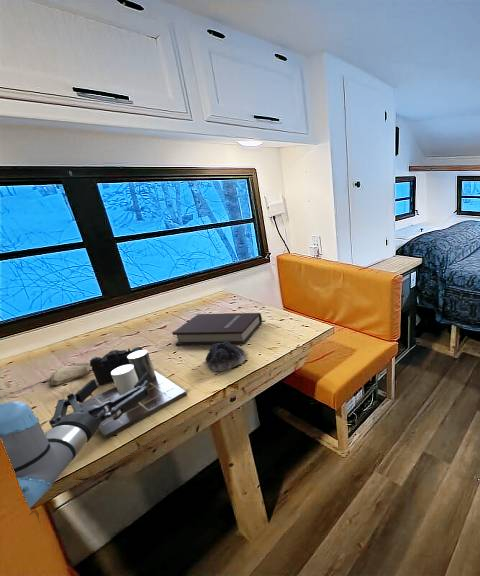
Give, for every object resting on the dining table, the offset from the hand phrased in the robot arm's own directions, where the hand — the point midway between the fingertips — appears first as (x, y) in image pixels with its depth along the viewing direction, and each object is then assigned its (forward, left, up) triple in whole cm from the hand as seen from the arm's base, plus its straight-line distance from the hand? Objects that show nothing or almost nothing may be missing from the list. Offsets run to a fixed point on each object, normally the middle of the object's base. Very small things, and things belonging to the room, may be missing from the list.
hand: (122, 379), depth 88 cm
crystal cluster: (+4, +28, -9) cm, 30 cm away
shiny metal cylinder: (-7, +7, -7) cm, 12 cm away
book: (-19, +40, -9) cm, 45 cm away
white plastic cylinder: (-1, +1, -7) cm, 8 cm away
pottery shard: (-36, -4, -9) cm, 37 cm away
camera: (-22, +6, -9) cm, 25 cm away
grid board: (-1, +1, -9) cm, 9 cm away
